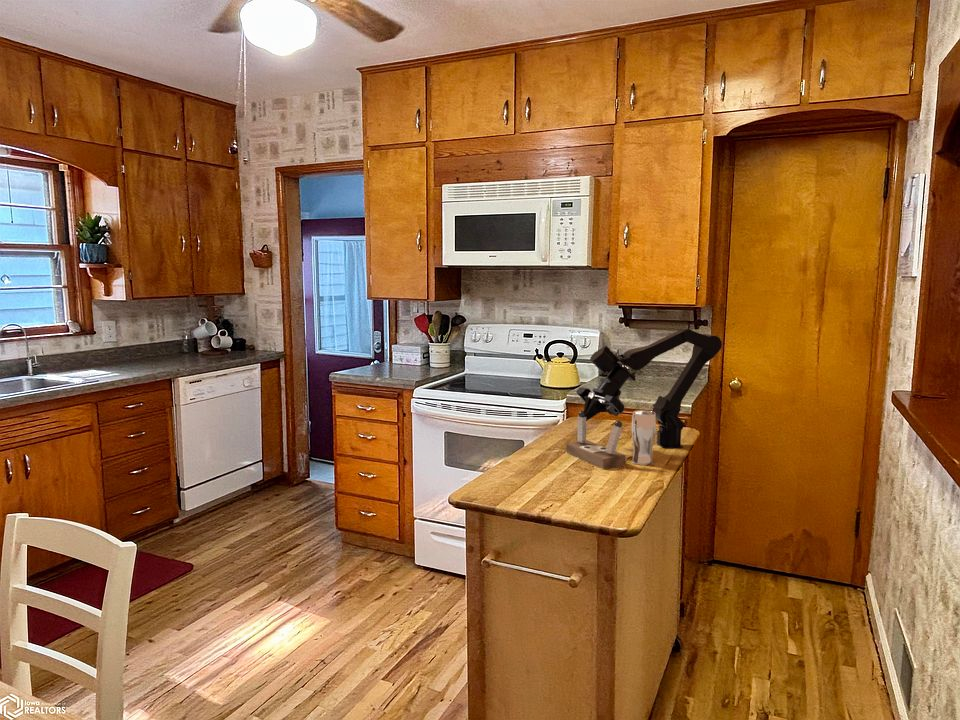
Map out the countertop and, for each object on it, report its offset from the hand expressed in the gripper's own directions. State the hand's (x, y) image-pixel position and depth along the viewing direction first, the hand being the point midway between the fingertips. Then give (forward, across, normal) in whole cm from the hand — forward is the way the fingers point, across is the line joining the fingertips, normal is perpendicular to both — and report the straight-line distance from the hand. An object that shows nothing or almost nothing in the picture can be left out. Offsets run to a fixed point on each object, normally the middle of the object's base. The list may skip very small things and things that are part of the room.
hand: (583, 420), depth 202 cm
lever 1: (+5, 0, -4) cm, 7 cm away
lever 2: (+5, -14, -4) cm, 16 cm away
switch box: (+8, -7, -7) cm, 13 cm away
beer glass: (0, -16, -14) cm, 22 cm away
